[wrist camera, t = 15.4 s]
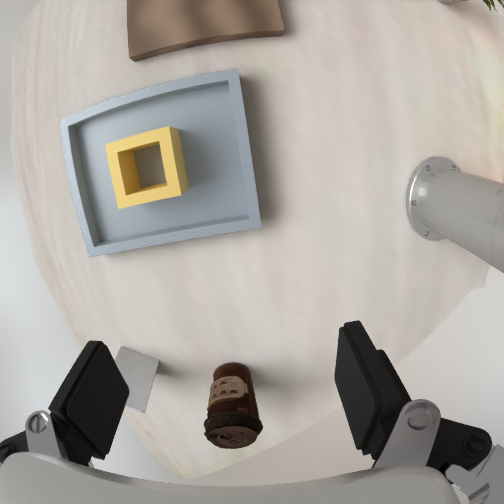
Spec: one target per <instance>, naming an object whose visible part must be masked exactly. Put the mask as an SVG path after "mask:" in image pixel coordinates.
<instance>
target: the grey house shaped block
mask: <svg viewBox="0 0 504 504" xmlns="http://www.w3.org/2000/svg"><path fill="white" fill-rule="evenodd" d="M115 363H116V365H117V367H118V369H119V371H120V372H121V374H122V376H123V378H124V380H125V381H126V383H127V385H128V387H129V391H130V393H129V397H128V399H127V402H126V405H125V406H126V407H128V408H131V409H134V410H137V411H140V412H143V413H145V411H146V407H147V403H148V400H149V396H150V392H151V388H152V385H153V381H154V377H155V374H156V370H157V367H158V363H159V360H157V359H154V358H151V357H149V356H146V355H143V354H141V353H138V352H135V351H133V350H130V349H128V348H125V347H123V346H121V348H120V350H119V352H118V354H117V356H116V359H115Z"/></svg>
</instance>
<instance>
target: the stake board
mask: <svg viewBox="0 0 504 504" xmlns="http://www.w3.org/2000/svg"><path fill="white" fill-rule="evenodd" d="M127 28H128V47H129V58H130V59H132V60H133V61H134V62H136V61H139V60H142V59H146V58H149V57H152V56H156V55H160V54H163V53H167V52H171V51H175V50H180V49H184V48H189V47H193V46H199V45H204V44H210V43H216V42H222V41H229V40H237V39H246V38H257V37H271V36H282V34H283V32H284V26H283V21H282V17H281V12H280V8H279V4H278V0H127Z"/></svg>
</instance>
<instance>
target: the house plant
mask: <svg viewBox="0 0 504 504" xmlns="http://www.w3.org/2000/svg"><path fill="white" fill-rule="evenodd" d="M437 1H439V2H441V3H443V4H450V3H455V2H461V1H468V0H437ZM483 1H484V2H485V3H486V4H487V6H488V7H489V9H490V11H491V6H490V4H491V5H492V6H493V7H494V9H495V5H494V2H493V0H490V1H491V2H490V1H488V0H483ZM498 1H499V3H500V4H501V5H502V6H503V3H502V1H501V0H498ZM503 1H504V0H503ZM503 8H504V6H503ZM495 10H496V9H495Z"/></svg>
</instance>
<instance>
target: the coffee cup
mask: <svg viewBox="0 0 504 504" xmlns="http://www.w3.org/2000/svg"><path fill="white" fill-rule="evenodd" d="M213 378H214V379H213V380H214V382H213V384H212V386H211V388H210V397H209V403H208V408H207V411H208V414H207V416H208V418H207V419H206V420H205V422H204V427H205V430H206V432H205V433H204V434H205V436H206V437H207V440H208V441H210V442H212V443H213V444H214V445H215V446H218V447H220V448H225V449H236V448H242V447H246V446H249V445H250V444H252V443H253V442H255V440H256V438H257V436H258V435H259V434H260V432H261V431H262V429H263V426H262V422H261V420H260V419H259V413H258V408H257V403H256V398H255V393H254V388H253V382H252V379H251V374H250V372H249V370H248V368H247V367H246V366H244V365H241V364H238V363H228V364H224V365H221V366H219V367H218V368H217V369H216V370H215V372H214V374H213Z"/></svg>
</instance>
